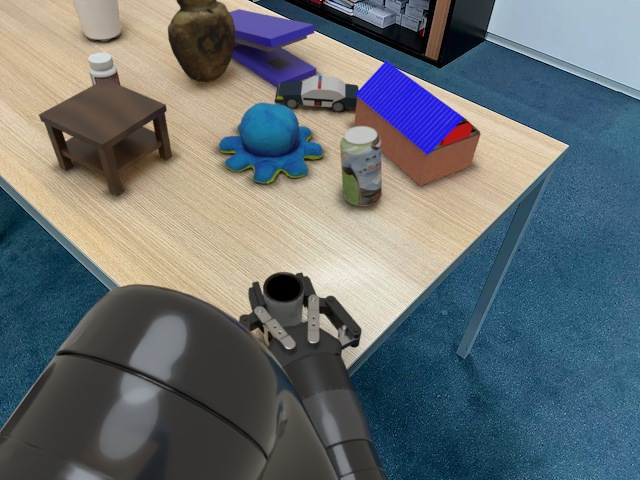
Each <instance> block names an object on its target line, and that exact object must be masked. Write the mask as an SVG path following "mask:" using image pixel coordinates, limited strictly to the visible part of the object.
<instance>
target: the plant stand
mask: <svg viewBox="0 0 640 480" xmlns="http://www.w3.org/2000/svg"><path fill="white" fill-rule="evenodd" d="M167 111H168V109H167V104H166V103H163V102H161V101H158V100H156V99H153V98H152V97H149V96H147V95H145V94H142V93H139V92H137V91H135V90H132V89H130V88H128V87H126V86H123V85H121V84H120V85H118V84H116V83H113V82H111V81H109V80H106V79H104V80H102V81H100V82H99V83H97V84H95V85H93V84H92V85H90V86H89V87H87V88H86V89H84V90H82V91H80V92H78V93H76V94H75V95H73V96H71V97H69V98H67V99H65V100H63V101H61V102H60V103H57V104H55V105H54V106H52V107H50V108H49V109H46V110H45V111H43V112H41V113H39V114H38V117H39V120H40V122H42V123H44V126H45V129H46V132H47V134H48V137H49V140H50V143H51V146H52V148H53V151H54V155H55V157H56V160H57V163H58V165H59V168H60V169H62V170H64V171H65V172H66V171H69V170H71V169H72V168H74V166H75V165H74V163H73V161H74V162H76V163H77V164H79V165H81V166H84V167H85V168H88V169H90V170H92V171H93V172H96V173H97V174H99V175H102V176H103V177H105V180H106V184H107V187H108V191H109V194H110V195H112V196H114V197H119V196H121V194H123V193H124V192H125V191H124V187H123V183H122V179H121V175H123V174H124V173H125V172H127V171H129V170H130V169H131V168H132V167H134V166H135V165H137V164H138V163H140V162H142V161H143V160H144V159H145V158H147V157H149V156H150V155H151V154H153V153H154V152H155V151H158V156H159V158H160V159H161V160H164V161H167V162H168V160H170V159H172V157H173V153H172V152H173V151H172V147H171V141H170V135H169V130H168V123H167V118H166V112H167ZM151 122H152V124H153V129H154V130H152V129H150V128H147V127H145V126H146V125H147V124H149V123H151ZM64 134H67V135H69V136H71V137H70V138H69V139H67V140H66V139H65V136H64Z"/></svg>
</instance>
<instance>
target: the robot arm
mask: <svg viewBox="0 0 640 480" xmlns="http://www.w3.org/2000/svg"><path fill="white" fill-rule="evenodd" d="M295 275H296V276H298V277H299V278H300V279H301V280H302V282H303V284H304V299H303V309H307V312H306V313H307V314H306V315H307V318H306V321H302V322H301V323H299V324H297V325H295V326H284V327H282V326H281V325H280V324H279V323H278V321H277V320H276V319H275V318H272V317H271V316H270V314H269V313H268V312H267V311H266V303H265V300H264V297H263V290H262V288H261V285H260V281H259V280H257V281H253V282H251V287H248V290H247V292H248V294H247V295H248V302H249V305H250V309H251V312H250V313H248V314H246V313H244V314H241V315H240V316H239V318H238V319H237V318H235V317H234V316H232V315H230V314H229V313H227V312H225V311H224V310H222V309H221V308H219V307H218V306H215V305H214V304H212V303H210V302H208V301H206V300H203V299H201V298H199V297H196V296H195V295H192V294H189V293H186V292H183V291H179V290H176V289H173V288H170V287H166V286H161V285H160V286H159V285H153V284H142V283H141V284H140V283H133V284H132V283H131V284H127V285H123V286H119V287H115V288H112V289H111V290H109V291H107V292H106V293H104V294H103V295H102V296H101V297H100V298H99V299H98V300H96V301H95V302H94V303H93V305H91V307H90V308H88V310H87V311H86V312H85V313H84V315H83V316H82V317H81V318H80V320H79V321H78V322H77V323H76V324H75V325H74V327H73V329H72V330H71V331H70V332H69V334H67V337H65V339H64V340H63V342H62V343H61V344H60V346H59V347H58V349H57V350H56V352H55V353H54V357H52V359H50V361H49V362H48V363H47V365H46V366H45V367H44V369H43V370H42V371H41V373H40V374H39V376H38V377H37V379H36V380H35V381H34V383H32V385H31V387H30V388H29V390H28V391H27V392H26V394H25V395H24V397H23V398H22V400H20V403H18V405H17V407H16V408H15V410H14V411H13V412H12V414H11V415H10V417H9V418H8V419H7V421H6V422H5V424H3V426H2V427H1V429H0V480H389V478H388V476H387V473H386V470H385V468H384V466H383V464H382V461H381V458H380V456H379V454H378V451H377V449H376V446H375V444H374V440H373V436H372V432H371V429H370V425H369V422H368V419H367V416H366V413H365V411H364V409H363V406H362V403H361V401H360V399H359V396H358V393H357V391H356V389H355V386H354V384H353V381H352V378H351V376H350V374H349V371H348V369H347V366H346V364H345V361H344V359H343V357H342V351H343V350H345V349H348V348H349V347H350V348H354V349H355V348H358V347H359V346H360V342H361V337H362V332H363V329H362V327H361V326H360V325H359V324H358V323H357V321H356V320H355V319H354V318H353V317H352V316H351V314H350V313H349V312H348V310H347V309H346V308H344V306H343V305H342V304H341V302H340V301H339V300H338V299H337V298H336V297H335V296H334V295H327V296H326V297H320V296H319V295H317V292H316V290H315V288H314V285H313V283H312V280H311V278H310V277H309V276H308V275H304V273H303V272H302V271H301V272H296V273H295ZM320 315H324V316H325V317H326V318H327V320H328V321H329V322H330V323H331V325H332V326H333V328H335V330H336V331H337V337H336V336H334V335H333V334H331V333H329V332H328V331H326V330H325V329H323V328H321V327H320ZM255 330H258V331H259V333H260V334H261V335H262V336H263V340H264V339H265V341H266V343H267V344H268V345H269V346H268V348H267V347H266V345H265V343H264V342H263V340H261V339H260V338H259V337H258V336H257V335H255V333H253V331H255Z"/></svg>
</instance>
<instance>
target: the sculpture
mask: <svg viewBox="0 0 640 480" xmlns="http://www.w3.org/2000/svg"><path fill="white" fill-rule="evenodd" d="M175 1H176V3H177V5H178V6H179V8H180V9H179V10H178V11H177V12H176V13H175V14H174V16H173V17H172V18H171V20H170V22H169V25H168V26H167V37H168V42H169V46H170V48H171V52H172V54H173V55H174V57H175V59H176V61H177V62H178V65H179V66H180V67H181V69H182V71H183V72H184V73H185V75H186V76H187V77H188V78H189V79H191V80H192V81H195V82H197V83H211V82H214V81H216V80H217V79H219V78H220V77H222V76H223V75H224V74H225V72H226V70H227V69H228V67H229V65H230V64H231V60H232V59H233V58H232V54H233V50H234V45H235V26H234V20H233V18H232V15H231V14H230V13H229V12H230V11H229V10H228V7H227V5H226V4H224V3H223V2H221V1H219V0H218V1H217V0H175Z"/></svg>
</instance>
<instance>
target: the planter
mask: <svg viewBox="0 0 640 480" xmlns="http://www.w3.org/2000/svg"><path fill="white" fill-rule="evenodd" d="M262 284H263V285H262V294H263V297H264V300H265V303H266V311H267V312H268V313H269V314H270V316H271V317H272V318H275V319H276V320H277V321H278V323H279V324H280V325H281V326H282V327H284V326H295V325H297V324H299V323H301V322H303V315H304V314H303V312H304V305H303V299H304V284H303V282H302V280H301V279H300V278H299V277H298V276H296V273H295V274H294V273H292V272H289V271H279V272H275V273H273V274H271V275H268V277H266V279H265V281H264V282H263V283H262ZM263 341H264V342H263V343H264V345H265V346H266V347H267V348H268V346H269V345H268V344H267V343H266V341H265V339H264V338H263Z"/></svg>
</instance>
